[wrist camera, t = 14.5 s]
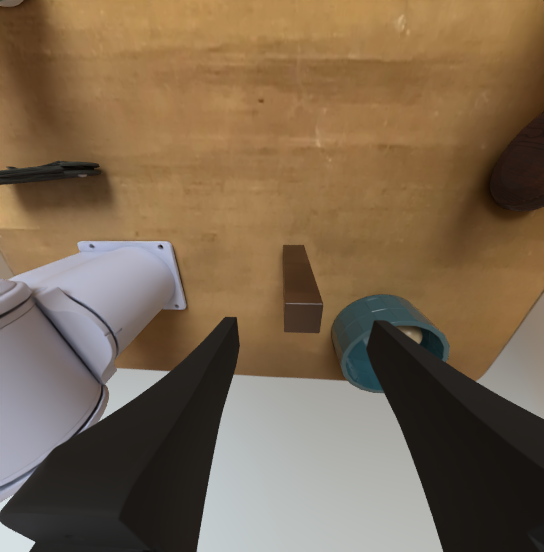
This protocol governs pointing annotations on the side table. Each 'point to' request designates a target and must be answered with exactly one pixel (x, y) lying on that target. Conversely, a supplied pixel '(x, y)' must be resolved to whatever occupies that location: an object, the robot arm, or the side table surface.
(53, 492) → the robot arm
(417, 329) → the bead
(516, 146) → the compass
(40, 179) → the folding knife
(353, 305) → the bowl
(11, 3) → the supplement bottle
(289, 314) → the stirring stick
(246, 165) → the side table surface
